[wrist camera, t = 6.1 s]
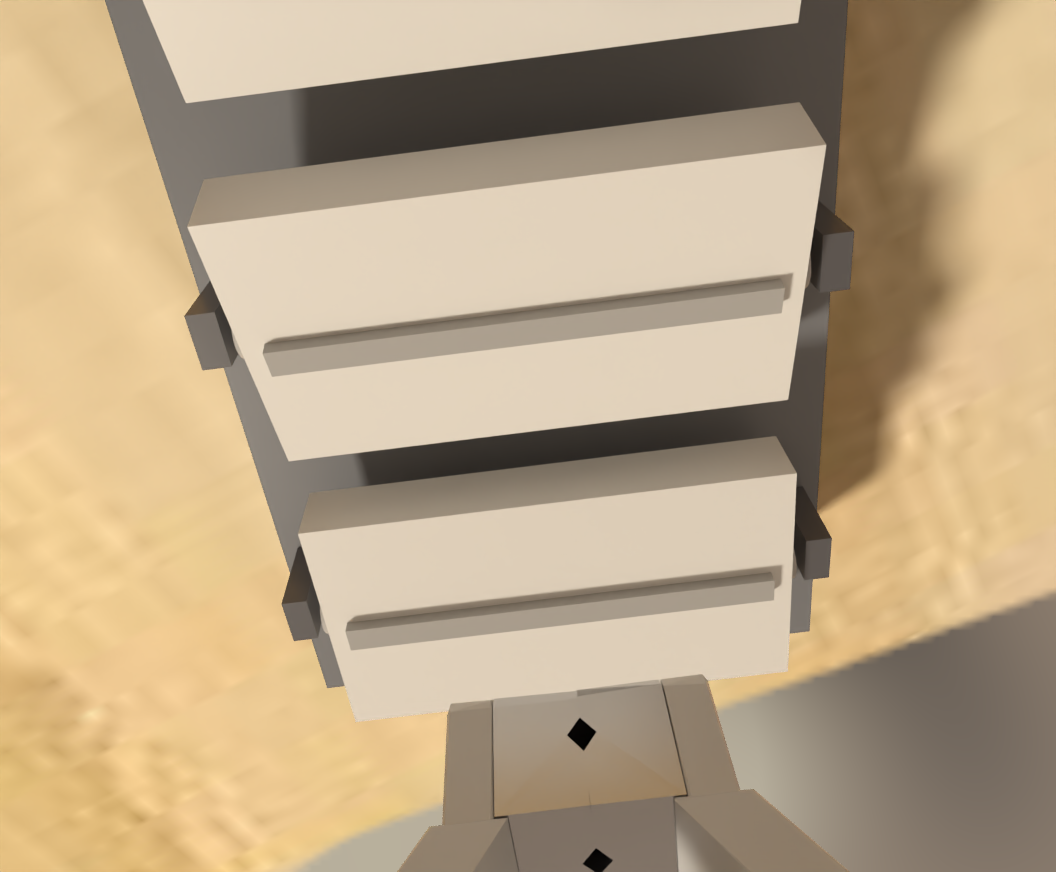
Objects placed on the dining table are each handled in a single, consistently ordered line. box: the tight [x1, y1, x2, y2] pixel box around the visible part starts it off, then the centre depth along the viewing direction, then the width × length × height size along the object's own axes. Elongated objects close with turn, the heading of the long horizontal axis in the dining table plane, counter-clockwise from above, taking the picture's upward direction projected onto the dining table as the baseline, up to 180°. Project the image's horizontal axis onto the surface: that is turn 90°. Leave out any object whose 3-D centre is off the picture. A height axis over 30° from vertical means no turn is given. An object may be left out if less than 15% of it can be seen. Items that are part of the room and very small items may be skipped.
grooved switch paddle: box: [298, 436, 797, 722], centre depth 22 cm, size 6×11×2 cm, turn 97°
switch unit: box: [105, 0, 854, 688], centre depth 20 cm, size 24×14×6 cm, turn 7°
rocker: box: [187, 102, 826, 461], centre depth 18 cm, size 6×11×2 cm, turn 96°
